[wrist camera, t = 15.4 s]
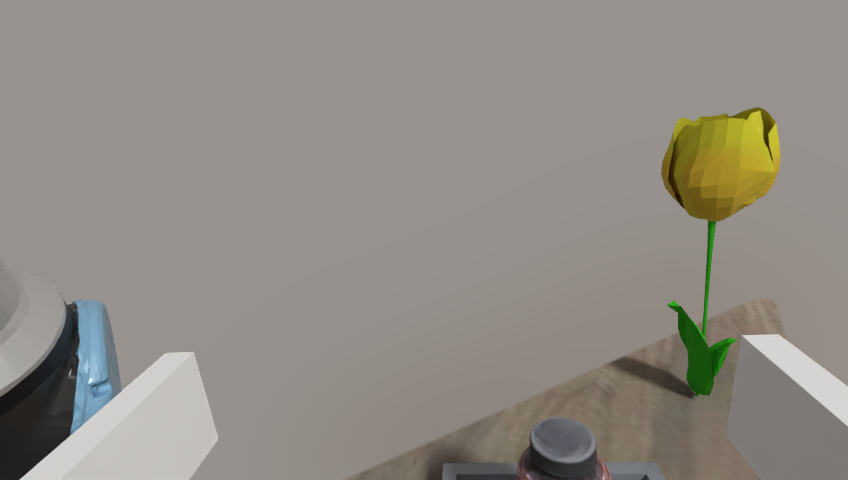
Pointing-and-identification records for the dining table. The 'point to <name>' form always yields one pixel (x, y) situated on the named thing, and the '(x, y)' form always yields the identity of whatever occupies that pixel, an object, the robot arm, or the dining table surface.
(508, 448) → the dining table surface
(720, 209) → the flower
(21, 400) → the robot arm
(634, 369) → the dining table surface
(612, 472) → the tray
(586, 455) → the supplement bottle
